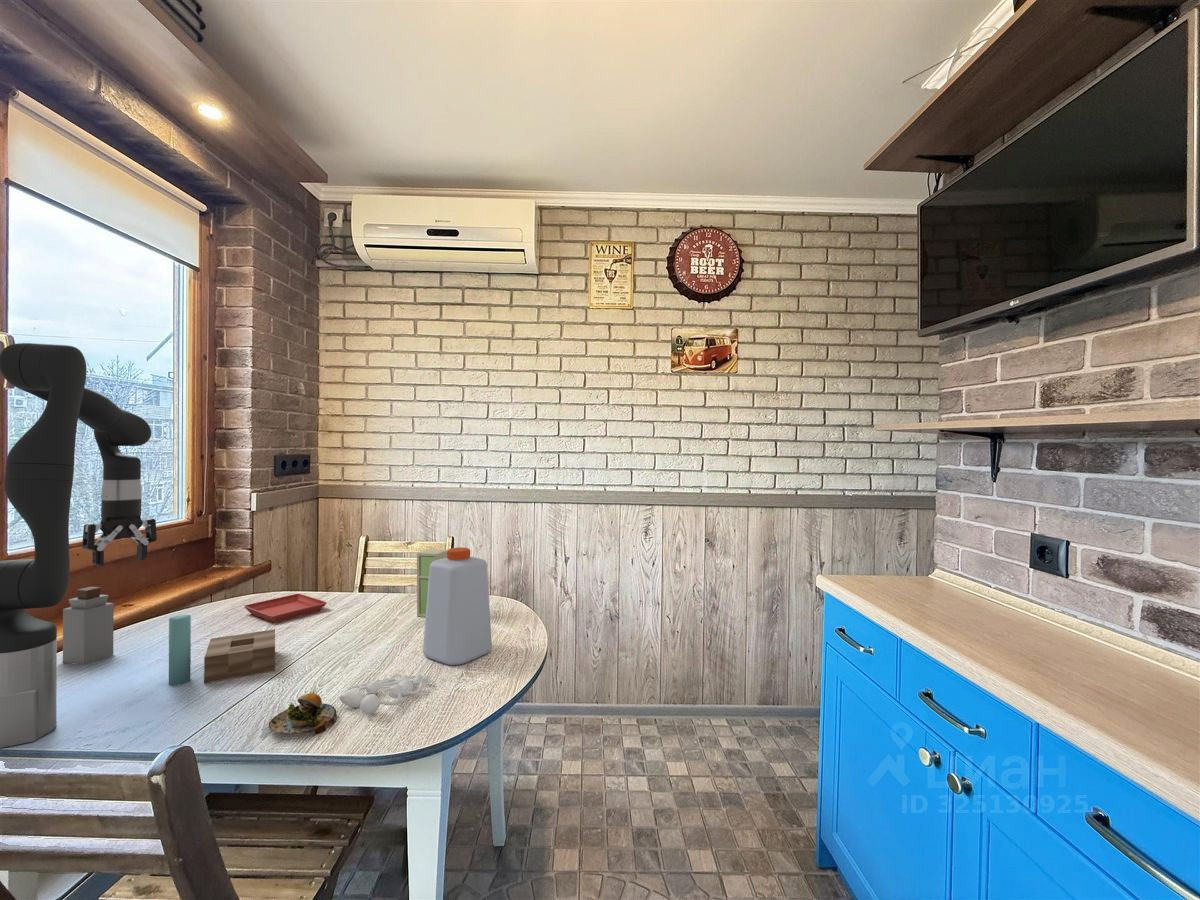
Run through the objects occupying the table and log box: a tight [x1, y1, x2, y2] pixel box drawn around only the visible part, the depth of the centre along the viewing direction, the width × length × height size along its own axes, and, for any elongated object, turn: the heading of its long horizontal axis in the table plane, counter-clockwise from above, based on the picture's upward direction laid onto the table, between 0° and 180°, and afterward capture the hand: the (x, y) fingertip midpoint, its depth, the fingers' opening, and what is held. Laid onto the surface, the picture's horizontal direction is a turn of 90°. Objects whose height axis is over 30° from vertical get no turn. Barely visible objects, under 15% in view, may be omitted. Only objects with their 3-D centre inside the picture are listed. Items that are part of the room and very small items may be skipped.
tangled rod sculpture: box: [339, 673, 431, 715], centre depth 120 cm, size 19×14×4 cm
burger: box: [268, 685, 338, 736], centre depth 106 cm, size 12×12×8 cm
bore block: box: [203, 628, 276, 684], centre depth 134 cm, size 14×14×6 cm
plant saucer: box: [243, 593, 328, 623], centre depth 176 cm, size 18×18×3 cm
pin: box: [168, 614, 192, 686], centre depth 125 cm, size 4×4×15 cm
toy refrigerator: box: [416, 548, 449, 618], centre depth 175 cm, size 8×7×21 cm
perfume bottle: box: [62, 586, 115, 666], centre depth 137 cm, size 7×7×18 cm
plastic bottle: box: [422, 547, 493, 666], centre depth 143 cm, size 15×15×28 cm
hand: (120, 563), depth 133 cm, fingers open, 8 cm apart
